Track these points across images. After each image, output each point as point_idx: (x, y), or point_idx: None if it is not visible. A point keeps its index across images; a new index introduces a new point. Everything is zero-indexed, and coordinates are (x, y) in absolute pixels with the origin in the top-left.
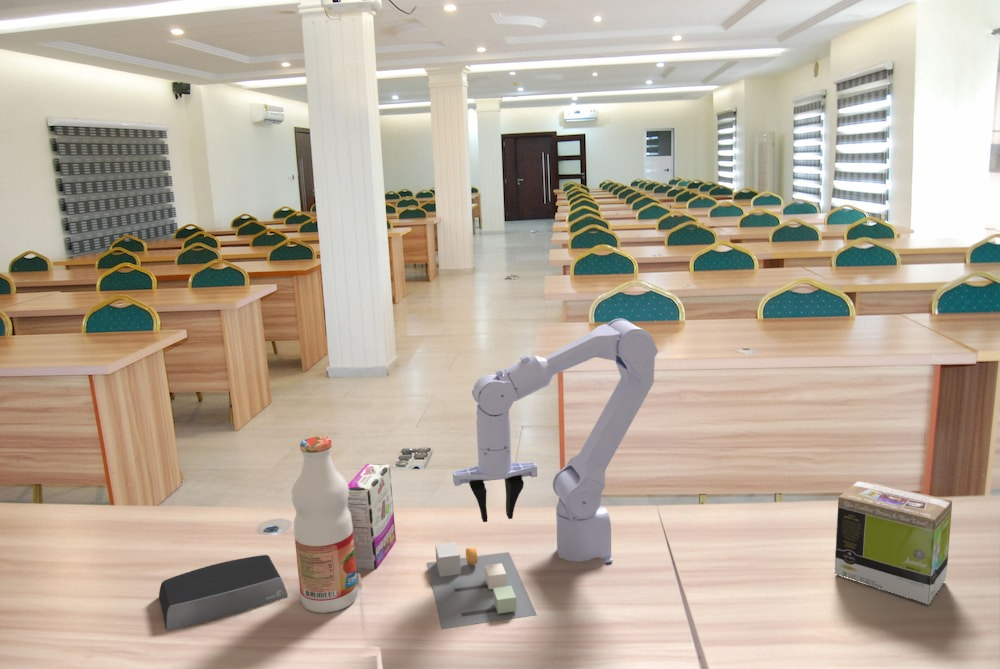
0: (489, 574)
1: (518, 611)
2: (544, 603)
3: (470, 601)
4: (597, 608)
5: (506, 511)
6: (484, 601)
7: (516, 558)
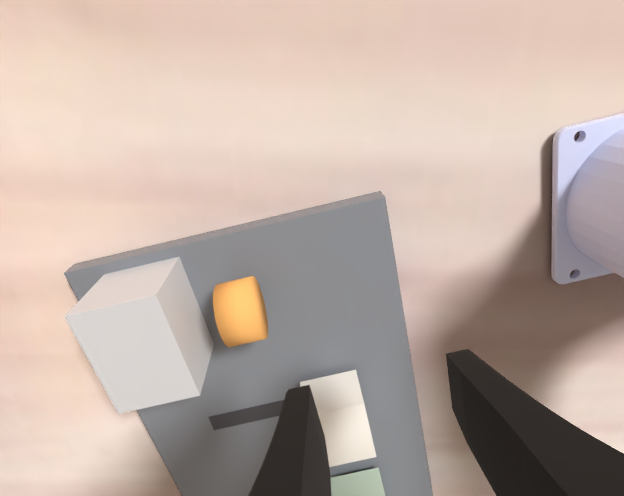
0: None
1: (391, 494)
2: (458, 432)
3: None
4: None
5: (455, 374)
6: None
7: (407, 200)
